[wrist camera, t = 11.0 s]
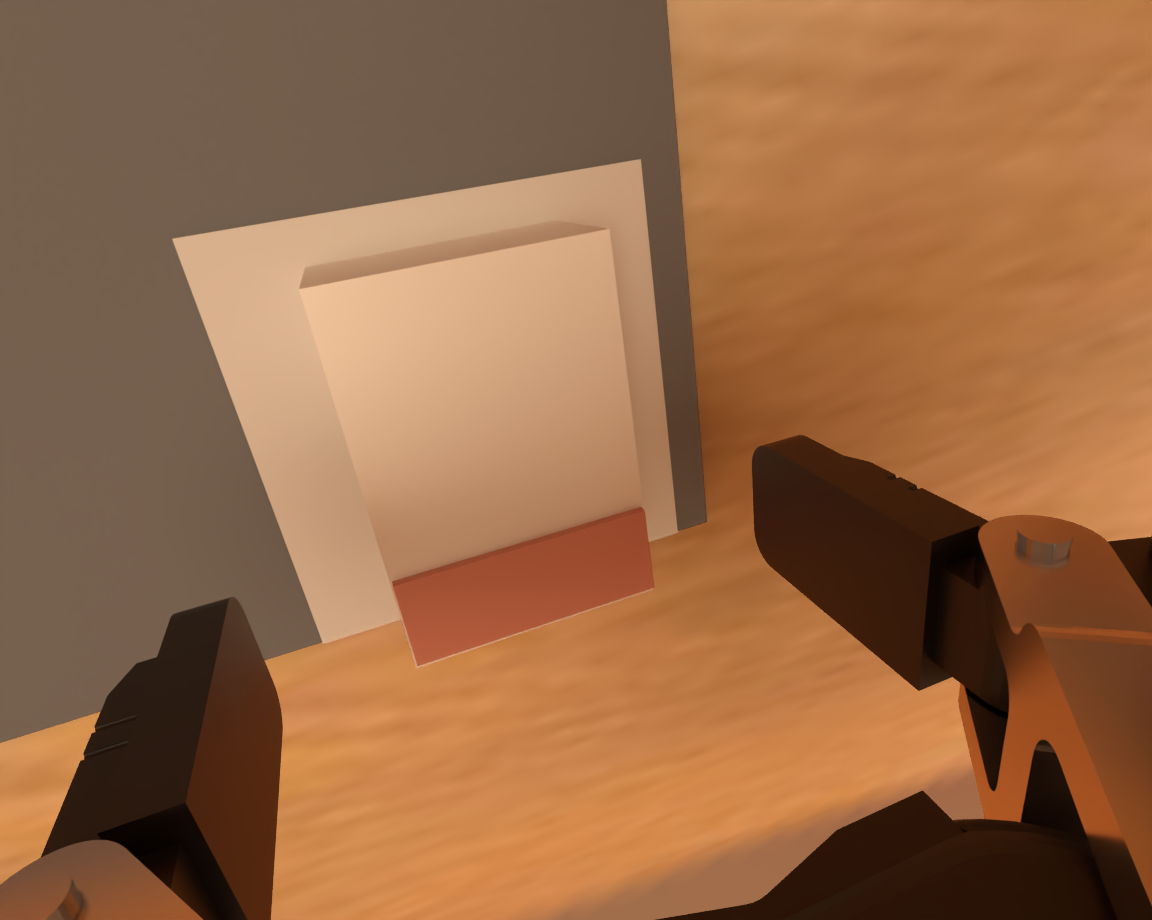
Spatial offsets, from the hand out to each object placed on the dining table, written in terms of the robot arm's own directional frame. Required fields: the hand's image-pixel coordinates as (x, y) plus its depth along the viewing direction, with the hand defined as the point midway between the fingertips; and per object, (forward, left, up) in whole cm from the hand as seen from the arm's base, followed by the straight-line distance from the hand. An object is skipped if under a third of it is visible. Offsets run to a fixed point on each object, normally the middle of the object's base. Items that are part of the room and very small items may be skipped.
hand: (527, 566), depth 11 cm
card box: (+1, 0, -7) cm, 7 cm away
